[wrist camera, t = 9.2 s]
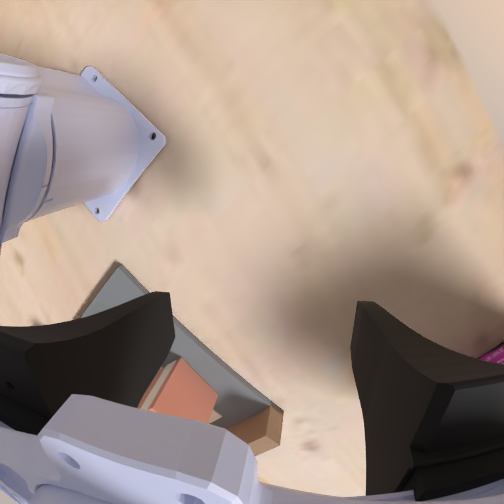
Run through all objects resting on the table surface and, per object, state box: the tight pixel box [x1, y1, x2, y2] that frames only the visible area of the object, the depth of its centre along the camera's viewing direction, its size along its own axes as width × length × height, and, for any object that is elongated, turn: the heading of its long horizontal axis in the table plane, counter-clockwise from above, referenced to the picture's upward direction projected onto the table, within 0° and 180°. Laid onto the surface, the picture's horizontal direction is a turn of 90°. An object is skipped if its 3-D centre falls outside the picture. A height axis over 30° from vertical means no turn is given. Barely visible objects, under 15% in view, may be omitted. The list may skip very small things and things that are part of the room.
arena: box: [81, 265, 284, 456], centre depth 24 cm, size 18×14×4 cm
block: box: [137, 357, 218, 423], centre depth 22 cm, size 5×9×6 cm, turn 128°
